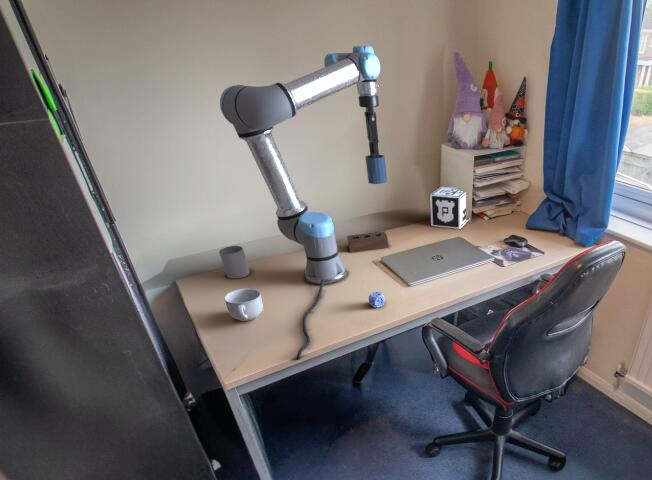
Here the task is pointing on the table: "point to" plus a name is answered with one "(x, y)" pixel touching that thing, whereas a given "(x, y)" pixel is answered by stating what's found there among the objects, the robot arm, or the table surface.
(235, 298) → the teacup
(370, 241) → the caddy
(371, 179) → the coffee cup
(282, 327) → the table surface
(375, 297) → the decorative dice
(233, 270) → the cup
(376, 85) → the robot arm
